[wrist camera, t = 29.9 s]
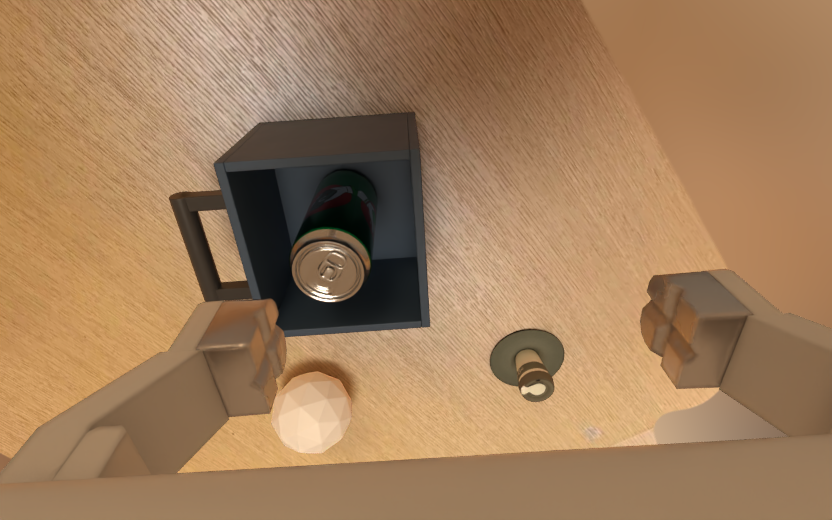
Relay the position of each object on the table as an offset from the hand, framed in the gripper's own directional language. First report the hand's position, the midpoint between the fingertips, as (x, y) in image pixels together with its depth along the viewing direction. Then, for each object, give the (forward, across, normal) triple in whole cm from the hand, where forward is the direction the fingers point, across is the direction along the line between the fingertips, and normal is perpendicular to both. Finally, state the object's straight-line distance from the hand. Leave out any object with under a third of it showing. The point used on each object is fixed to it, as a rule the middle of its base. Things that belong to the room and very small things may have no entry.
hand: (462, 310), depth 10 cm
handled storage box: (+28, +9, +9) cm, 30 cm away
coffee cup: (+28, -10, +28) cm, 40 cm away
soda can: (+27, +6, +8) cm, 29 cm away
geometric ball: (+28, +12, +30) cm, 42 cm away
